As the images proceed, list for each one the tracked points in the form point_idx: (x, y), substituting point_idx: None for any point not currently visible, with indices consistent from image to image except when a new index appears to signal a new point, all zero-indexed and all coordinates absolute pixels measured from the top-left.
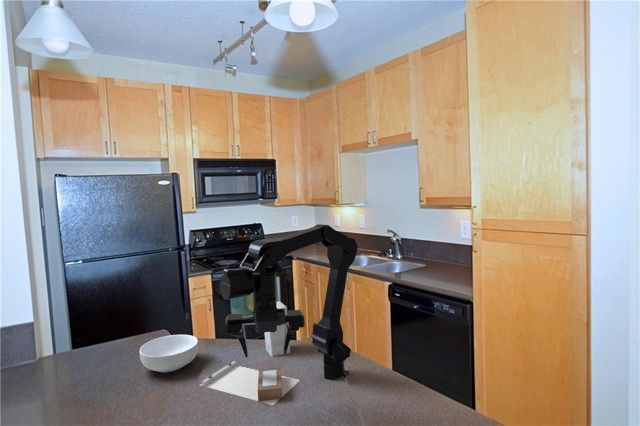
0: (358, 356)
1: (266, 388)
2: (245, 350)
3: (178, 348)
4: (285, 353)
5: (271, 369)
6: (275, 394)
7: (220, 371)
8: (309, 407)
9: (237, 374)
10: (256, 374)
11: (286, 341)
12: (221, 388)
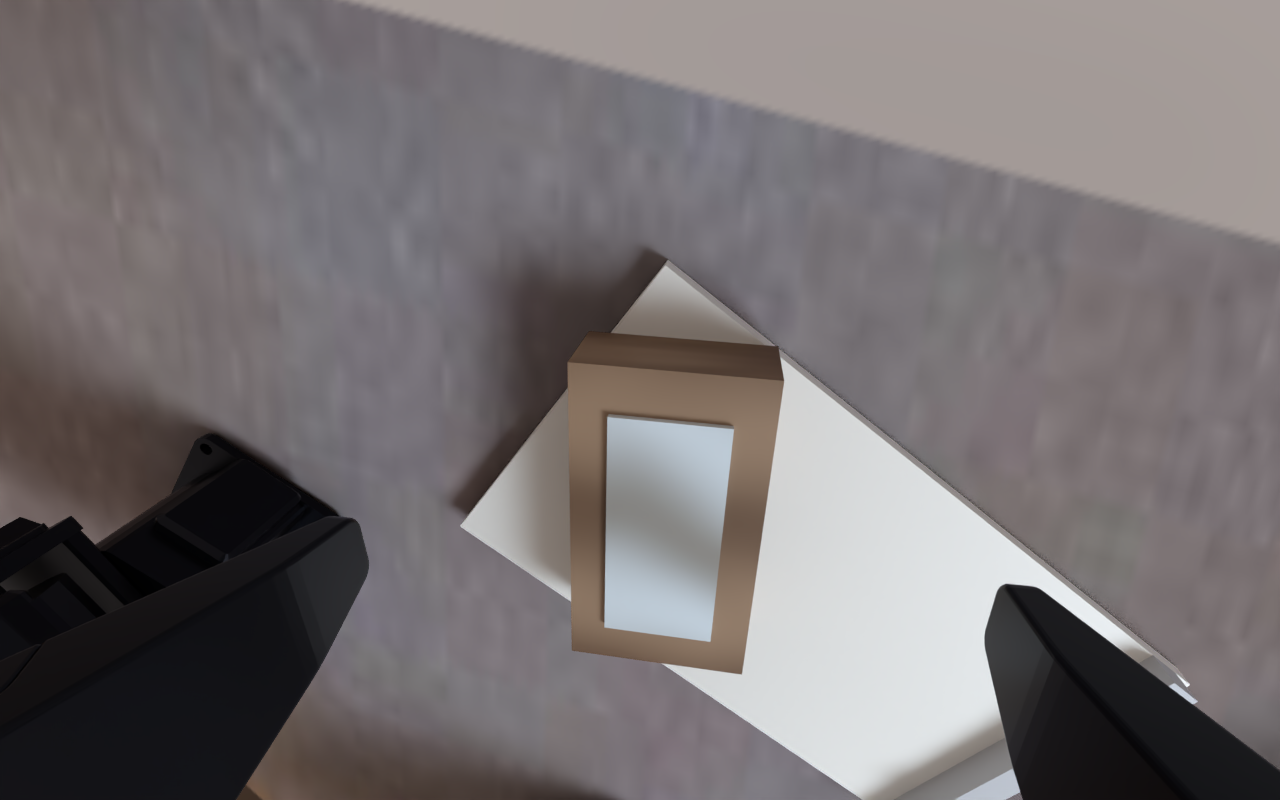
0: None
1: (701, 392)
2: (1136, 696)
3: None
4: (324, 521)
5: (642, 647)
6: (634, 348)
7: None
8: (401, 199)
9: (887, 717)
10: (755, 677)
11: (76, 667)
12: None
